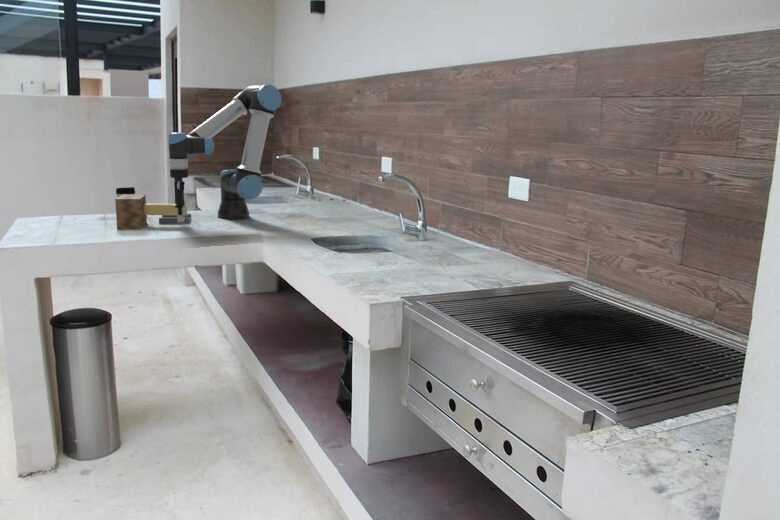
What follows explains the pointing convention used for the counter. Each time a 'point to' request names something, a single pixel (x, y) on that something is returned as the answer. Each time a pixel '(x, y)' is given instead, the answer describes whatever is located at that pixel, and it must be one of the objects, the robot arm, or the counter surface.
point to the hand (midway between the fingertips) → (181, 221)
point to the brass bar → (161, 209)
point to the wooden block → (130, 211)
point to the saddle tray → (174, 219)
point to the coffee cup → (125, 191)
